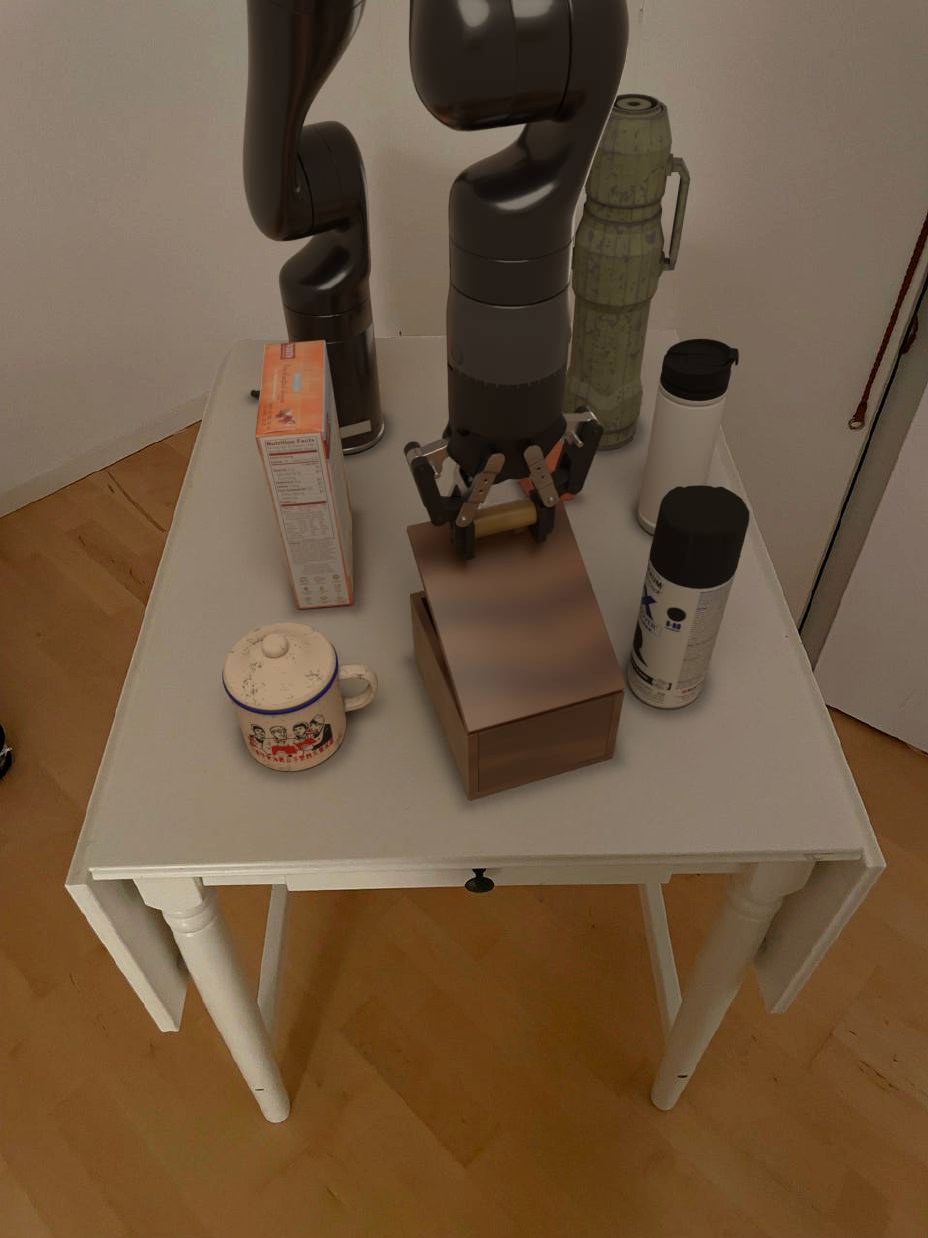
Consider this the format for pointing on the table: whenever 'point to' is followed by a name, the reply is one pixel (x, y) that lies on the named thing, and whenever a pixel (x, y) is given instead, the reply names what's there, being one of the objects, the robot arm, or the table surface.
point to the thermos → (621, 263)
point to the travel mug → (685, 421)
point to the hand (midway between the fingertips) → (501, 543)
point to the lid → (515, 616)
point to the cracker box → (306, 472)
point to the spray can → (685, 592)
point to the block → (551, 464)
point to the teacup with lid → (291, 694)
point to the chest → (511, 726)
